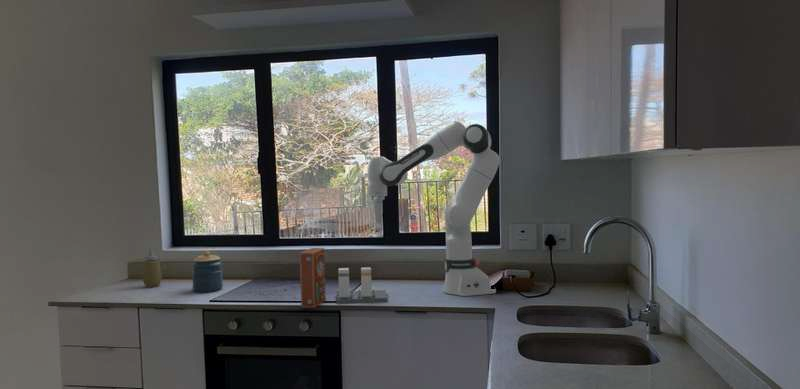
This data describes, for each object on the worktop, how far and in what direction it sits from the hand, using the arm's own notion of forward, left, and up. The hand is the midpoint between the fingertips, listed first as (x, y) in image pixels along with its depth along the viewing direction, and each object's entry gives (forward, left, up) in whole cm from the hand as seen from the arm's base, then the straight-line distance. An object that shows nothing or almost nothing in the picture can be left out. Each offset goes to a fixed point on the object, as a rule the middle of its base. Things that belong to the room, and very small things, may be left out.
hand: (378, 222), depth 221 cm
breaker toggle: (+6, +25, -27) cm, 38 cm away
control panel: (+27, +28, -29) cm, 49 cm away
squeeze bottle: (+107, -16, -29) cm, 112 cm away
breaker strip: (+8, +22, -29) cm, 37 cm away
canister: (+78, -5, -29) cm, 84 cm away
